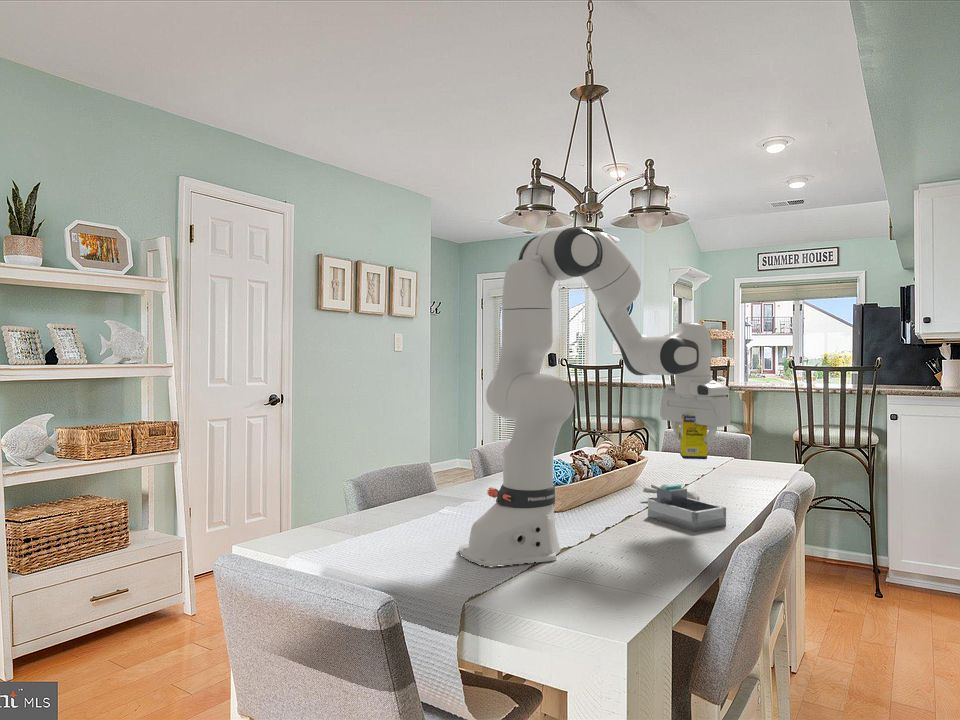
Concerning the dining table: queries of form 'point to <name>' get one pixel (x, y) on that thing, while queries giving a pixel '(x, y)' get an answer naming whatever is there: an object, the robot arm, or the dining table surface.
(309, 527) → the dining table surface
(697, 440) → the supplement box
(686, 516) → the tray
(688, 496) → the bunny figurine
